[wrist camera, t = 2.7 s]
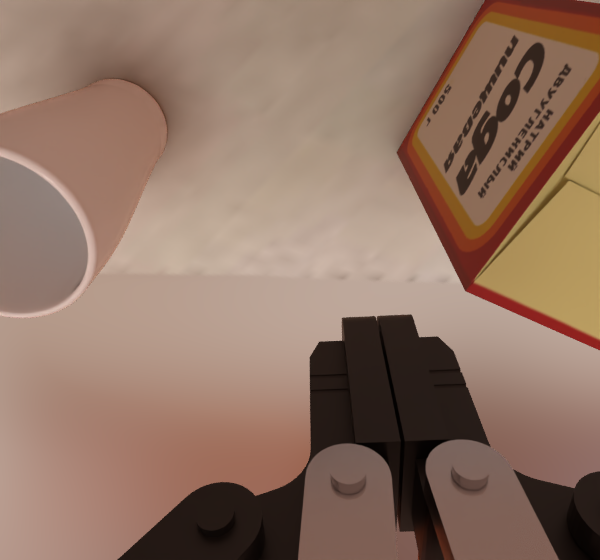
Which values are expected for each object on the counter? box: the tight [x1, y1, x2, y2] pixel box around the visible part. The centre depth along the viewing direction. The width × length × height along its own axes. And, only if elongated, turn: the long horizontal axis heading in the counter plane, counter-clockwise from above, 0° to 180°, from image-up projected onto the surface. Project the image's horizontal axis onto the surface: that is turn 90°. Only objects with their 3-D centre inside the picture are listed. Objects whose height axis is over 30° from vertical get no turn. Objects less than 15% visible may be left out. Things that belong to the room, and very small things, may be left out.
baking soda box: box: [397, 0, 600, 350], centre depth 23 cm, size 10×6×16 cm
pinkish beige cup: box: [0, 79, 167, 318], centre depth 25 cm, size 7×7×15 cm
